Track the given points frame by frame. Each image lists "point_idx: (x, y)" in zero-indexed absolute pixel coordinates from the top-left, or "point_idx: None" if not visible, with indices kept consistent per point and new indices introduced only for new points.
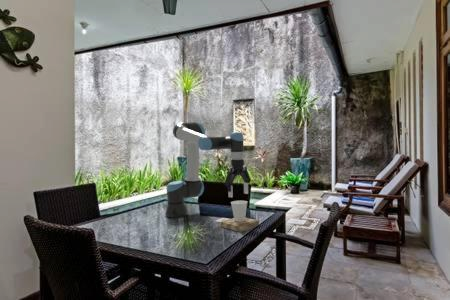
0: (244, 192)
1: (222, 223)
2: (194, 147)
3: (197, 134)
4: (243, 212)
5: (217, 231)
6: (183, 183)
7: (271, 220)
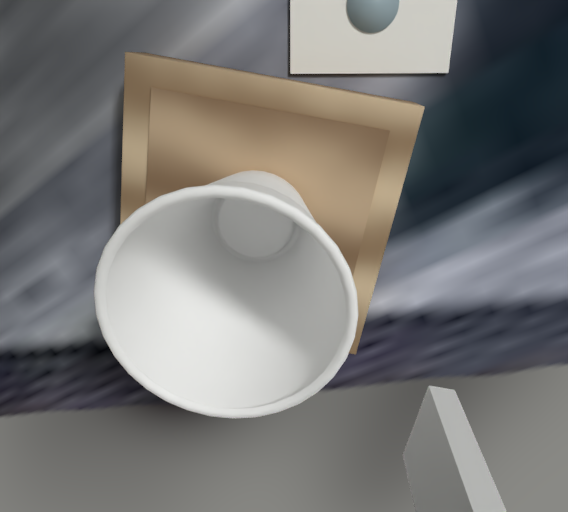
0: (430, 410)
1: (128, 82)
2: None
3: None
4: (219, 322)
5: (26, 112)
6: None
7: (534, 350)
